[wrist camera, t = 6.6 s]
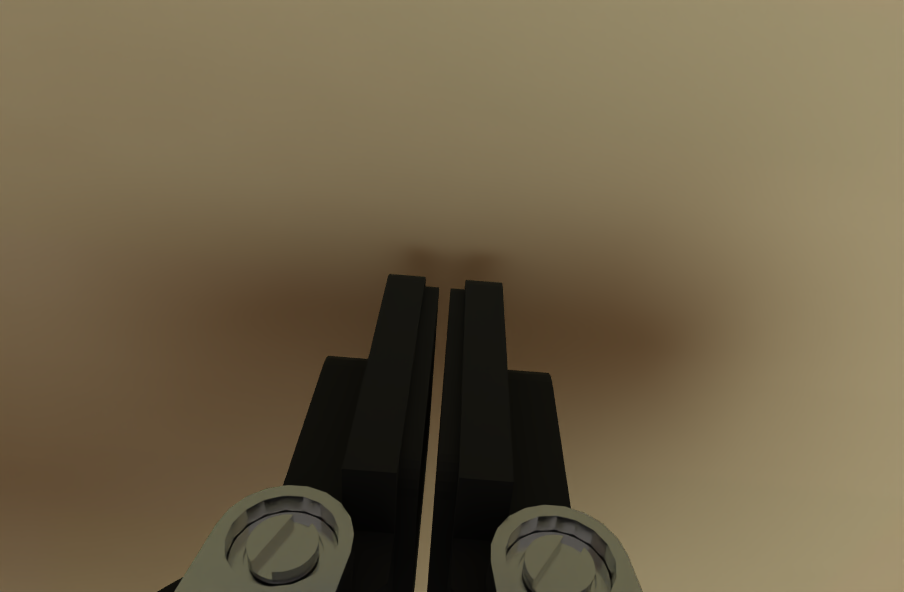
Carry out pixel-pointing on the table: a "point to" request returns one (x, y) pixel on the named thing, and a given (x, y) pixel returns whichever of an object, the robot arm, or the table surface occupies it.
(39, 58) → the table surface
